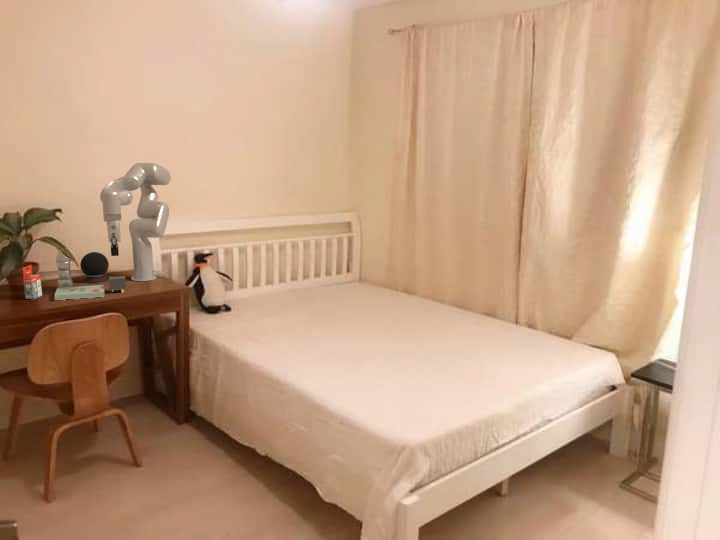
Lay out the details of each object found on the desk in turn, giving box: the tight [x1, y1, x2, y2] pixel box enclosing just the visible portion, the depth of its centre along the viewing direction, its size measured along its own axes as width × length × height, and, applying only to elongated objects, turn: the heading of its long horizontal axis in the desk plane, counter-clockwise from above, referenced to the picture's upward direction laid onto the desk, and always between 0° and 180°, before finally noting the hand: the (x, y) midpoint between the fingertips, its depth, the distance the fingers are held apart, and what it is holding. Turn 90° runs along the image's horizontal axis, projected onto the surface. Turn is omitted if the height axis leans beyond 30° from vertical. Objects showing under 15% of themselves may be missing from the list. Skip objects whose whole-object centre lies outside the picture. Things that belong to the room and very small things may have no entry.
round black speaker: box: [79, 251, 110, 284], centre depth 286 cm, size 13×13×15 cm
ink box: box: [22, 264, 43, 301], centre depth 251 cm, size 4×8×15 cm, turn 3°
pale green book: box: [53, 284, 105, 301], centre depth 258 cm, size 20×15×3 cm
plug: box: [108, 275, 127, 294], centre depth 265 cm, size 7×5×7 cm
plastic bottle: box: [55, 246, 74, 288], centre depth 268 cm, size 6×7×20 cm
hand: (115, 254), depth 262 cm, fingers open, 9 cm apart
